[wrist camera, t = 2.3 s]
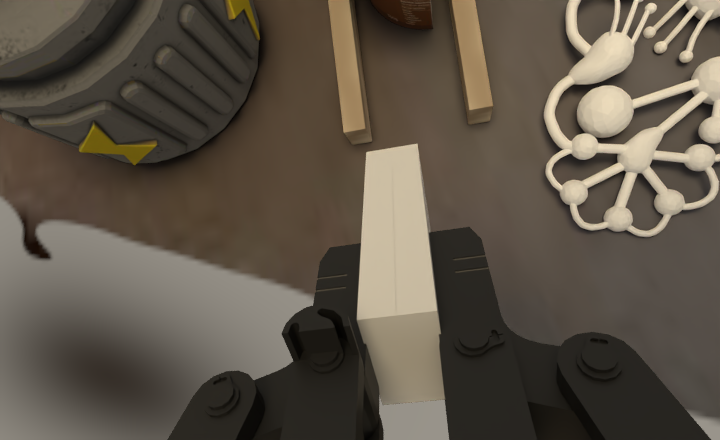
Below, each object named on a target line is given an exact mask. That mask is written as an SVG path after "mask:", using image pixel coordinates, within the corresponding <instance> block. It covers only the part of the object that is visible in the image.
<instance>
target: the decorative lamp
mask: <svg viewBox="0 0 720 440" xmlns="http://www.w3.org/2000/svg"><path fill="white" fill-rule="evenodd" d="M259 40H260V36H259V21H258V17H257V13H256V10H255V6H254V3H253V0H0V114H1V115H2V118H3V119H5V120H6V121H8V122H10V123H13V124H16V125H18V126H21V127H23V128H26V129H29V130H31V131H34V132H37V133H39V134H42V135H45V136H47V137H50V138H53V139H55V140H58V141H60V142H63V143H66V144H68V145H71V146H74V147H76V148H79V152H87V153H92V154H95V155H97V156H100V157H103V158H111V157H112V158H114V159H117V160H119V161H122V162H125V163H132V164H133V165H134V166H135V165H136V164H137V163H156V162H159V161H162V160H168V159H171V158H174V157H176V156H179V155H182V154H185V153H187V152H190V151H193V150H196V149H198V148H199V147H200V146H202V145H203V144H204V143H206V142H207V141H208V140H210V139H211V138H212V137H213V136H215V135H216V134H217V133H219V132H220V131H221V130H223V129H224V128H225V127H226V126H227V124H228V123H229V122H230V120H231V119H232V117H233V116H234V115H235V113H236V112H237V111H238V109H239V108H240V107H241V105H242V104H243V103H244V101H245V100H246V97H247V95H248V92H249V89H250V87H251V84H252V81H253V79H254V76H255V73H256V71H257V68H258V51H259Z"/></svg>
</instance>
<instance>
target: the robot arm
mask: <svg viewBox="0 0 720 440" xmlns="http://www.w3.org/2000/svg"><path fill="white" fill-rule="evenodd" d="M282 336H283V338H284V340H285V343H286V345H287V347H288V349H289V351H290V354H291V356H292V358H293V362H292V363H291V364H289V365H288V366H287V367H285V368H283V369H281V370H279V371H277V372H274V373H271V374H269V375H266V376H264V377H261V378H259V379H256V380H253V379H252V378H251V377H250V376H249V375H248V374H246V373H243V372H240V371H227V372H224V373H221V374H219V375H216V376H214V377H212V378H211V379H210V380H208V381H207V382H206V383H204V384H203V385H202V386H201V387H200V388H199V390H198V391H197V392H196V393H195V395H194V396H193V398H192V399H191V401H190V403H189V404H188V406H187V408H186V410H185V411H184V413H183V414H182V416H181V418H180V420H179V421H178V423H177V425H176V426H175V428H174V430H173V431H172V433H171V435H170V436H169V438H168V440H383V426H382V421H381V418H380V415H379V395H380V398H381V401H382V404H383V405H389V404H400V403H410V402H411V403H412V402H423V401H434V400H445V405H446V414H447V423H448V432H449V440H711V439H710V438H709V437H708V436H707V434H706V433H705V432H704V431H703V430H702V428H701V427H700V426H699V425H698V424H697V423H696V421H695V420H694V419H693V418H692V417H691V416H690V414H689V413H688V412H687V411H686V410H685V409H684V407H683V406H682V405H681V404H680V403H679V402H678V400H677V399H676V398H675V397H674V396H673V395H672V393H671V392H670V391H669V390H668V389H667V388H666V386H665V385H664V384H663V383H662V382H661V381H660V379H659V378H658V377H657V376H656V375H655V374H654V372H653V371H652V370H651V369H650V368H649V367H648V365H647V364H646V363H645V362H644V361H643V360H642V358H641V357H640V356H639V355H638V354H637V353H636V351H634V350H633V349H632V348H631V347H630V346H628V345H627V344H626V343H625V342H624V341H622V340H619V339H617V338H615V337H613V336H610V335H608V334H601V333H594V332H590V333H582V334H577V335H575V336H573V337H571V338H569V339H567V340H565V342H564V343H563V344H562V346H561V347H560V346H554V345H547V344H541V343H537V342H533V341H529V340H526V339H524V338H522V337H520V336H518V335H517V334H515V333H514V332H513V331H511V330H510V329H509V328H508V327H507V325H506V324H505V323H504V321H503V319H502V317H501V314H500V310H499V306H498V302H497V298H496V295H495V291H494V287H493V283H492V279H491V275H490V271H489V268H488V263H487V260H486V257H485V252H484V248H483V244H482V240H481V238H480V237H479V236H478V235H477V234H476V233H475V232H474V231H473V230H472V229H471V228H470V227H466V228H459V229H451V230H444V231H437V232H431V231H430V223H429V216H428V209H427V203H426V196H425V190H424V184H423V177H422V171H421V164H420V158H419V151H418V145H417V144H413V145H407V146H401V147H395V148H389V149H383V150H377V151H371V152H366V168H365V186H364V203H363V220H362V237H361V243H360V244H353V245H346V246H338V247H331V248H329V250H328V251H327V253H326V254H325V256H324V257H323V258H322V260H321V261H320V265H319V272H318V280H317V284H316V293H315V297H314V304H313V306H310V307H306V308H304V309H303V310H301V311H299V312H298V313H296V314H295V315H294V316H293V317H292V318H291V319H290V320H289V321H288V322H287V323H286V325H285V327H284V329H283V332H282Z"/></svg>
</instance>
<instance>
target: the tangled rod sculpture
mask: <svg viewBox="0 0 720 440" xmlns="http://www.w3.org/2000/svg"><path fill="white" fill-rule="evenodd" d="M642 1H643V0H634V1H633V4H632V7H631V10H630V13H629V15H628V18H627V21H626V23H625V26H624V28H623V31H622V33H620V32H615V31H616V28H617V24H618V21H619V14H620V0H615V12H614V18H613V23H612V26H611V30H610V32H606V33H604V34H603V35H602V36H601V37H600V38H599V39H598V40H597V41H596V42H595V43H594V44H593V46H591V45H589V44H588V43H587V42H586V41H585V40H584V39H583V38H582V37H581V36H580V35H579V33H578V28H577V23H576V22H577V8H578V6H579V4H580V2H581V0H569V2H568V4H567V8H566V15H565V20H566V33H567V36H568V38H569V41H570V42H571V44H572V45H573V46H574V47H575V48H576V49H577V50H578V51H579V52H580V53H581V54H582V55H584V58H583V59H582V60H580V61H579V62H578V63H577V64H576V65H575V66H574V67H573V68H572V69H571V71H570V72H569V75H568V76H566V77H564V78H563V79H562V80H561V81H559V82H558V83H557V84H556V85H555V87H554V88H553V89H552V91H551V92H550V94H549V97H548V100H547V102H546V105H545V109H544V120H545V123H546V127H547V130H548V132H549V134H550V136H551V137H552V139H553V141H554V142H555V143H556V144H557V145H558V146H559V147H560V148H561V149H563V150H561V151H560V152H558V153H557V154H555V155H554V156H552V158H551V159H550V160H549V161H548V163H547V164H546V170H545V172H546V177H547V178H548V180H549V181H550V183H551V185H552V186H553V187H555V188H556V189H557V190H559V191H560V197H561V199H562V201H563V202H564V203H565V204H568V205H570V211H571V214H572V217H573V220H574V221H575V222H576V223H577V224H578V225H579V226H580V227H581V228H584V229H587V230H591V231H592V230H600V229H605V228H608V229H610V230H612V231H615V232H621V231H625V230H628V231H629V232H631V233H632V234H634V235H637V236H641V237H651V236H654V235H656V234H658V233H659V232H661V231H662V230H663V229H664V228H665V226H666V225H667V223H668V221H669V219H670V218H671V216H672V215H676V214H678V213H679V212H680V211H682V210H692V209H696V208H700V207H702V206H705V205H706V204H708V203H709V202H711V201H712V200H713V199H715V197H716V195H717V193H718V191H719V180H718V178H717V176H716V174H715V171H714V169H713V168H712V167H711V166H712V165H713V163H714V162H719V161H720V154H717V155H715V152H714V150H713V149H712V148H711V147H709V146H707V145H704V144H696V145H693V146H691V147H689V148H688V149H687V150H686V152H685V153H674V152H665V151H655V150H656V148H657V146H658V144H659V143H660V141H661V140H662V137H663V135H664V133H665V132H667V131H668V130H669V129H670V128H671V127H673V126H674V125H675V124H676V123H677V122H679V121H680V120H681V119H682V118H684V117H685V116H686V115H687V114H688V113H690V112H691V111H692V110H693V109H694V108H696V107H697V106H698V105H699V104H701V103H702V102H704V103H707V104H711V105H713V110H712V116H711V117H709V118H707V119H705V120H704V121H703V122H702V123H701V124H700V126H699V130H698V132H699V136H700V138H701V139H702V140H704V141H705V142H707V143H719V142H720V56H719V57H714V58H711V59H709V60H707V61H706V62H704V63H702V64H701V65H699V66H698V67H697V69H696V70H695V72H694V74H693V75H692V77H691V80H690V81H687V82H684V83H681V84H678V85H675V86H672V87H669V88H666V89H663V90H660V91H657V92H654V93H651V94H648V95H645V96H642V97H639V98H636V99H633V100H631V98H630V96H629V95H628V94H627V93H626V92H625V91H623V90H622V89H621V88H618V87H616V86H600V87H597V88H594V89H592V90H590V91H589V92H588V93H587V94H586V95H584V96H583V98H582V99H581V101H580V103H579V105H578V108H577V121H578V123H579V125H580V127H581V128H582V129H583V130H584V132H586V133H584V134H579V135H577V136H576V137H575V138H574V139H573V140H572V141H569V140H568V139H567V138H566V136H565V135H564V134H563V133H562V132H561V130H560V128H559V125H558V123H557V121H556V118H555V109H556V106H557V104H558V101H559V98H560V96H561V95H562V94H563V92H564V91H565V90H566V89H567V88H569V87H570V86H571V85H573V84H578V85H581V84H595V83H599V82H602V81H604V80H606V79H608V78H610V77H612V76H614V75H616V74H618V73H620V72H622V71H623V70H625V69H626V68H627V67H628V65H629V64H630V63H631V61H632V59H633V55H634V45H635V43H636V41H637V39H638V37H639V35H640V33H641V31H642V29H643V26H644V24H645V22H646V20H647V18H648V16H649V14H652V13H654V12H655V11H656V8H657V6H656V5H655V4H654V3H649V4H648V5H647V6H646V7H645V12H644V14H643V17H642V19H641V21H640V23H639V25H638V27H637V29H636V31H635V33H634V35H633V37H632V39H630V38H629V37H628V36H627V32H628V30H629V27H630V25H631V22H632V19H633V16H634V14H635V11H636V8H637V5H638V3H639V2H642ZM684 4H685V5H686V7H687V9H688V10H689V12H688V13H687V14H686V16H685V17H684V18H683V19H682V20H681V22H680V23H679V24H678V25H677V26H676V27H675V29H674V30H673V31H672V32H671V33H670V34H669V36H668V37H667V38H666V39H665V40H664V41H661V42H657V43H656V44H655V46H654V51H655V52H656V53H663V52H665V51H666V50H667V45H668V44H669V43H670V42H671V41H672V39H673V38H674V37H675V36H676V35H677V34H678V33H679V32H680V31H681V29H682V28H683V27H684V26H685V25H686V23H687V22H688V21H689V20H690V19H691V17H692V16H693V15H694V16H695V17H697V18H698V19H699V20H700V21H699V23H698V24H697V26H696V28H695V30H694V32H693V33H692V35H691V37H690V39H689V42H688V45H687V48H686V50H685V51H683V52H681V53H680V55H679V60H680V61H681V62H683V63H687V62H689V61H691V60H692V58H693V53H692V50H693V47H694V44H695V41H696V39H697V37H698V35H699V33H700V32H701V30H702V28H703V26H704V25H705V24H706V22H707V21H708V20H712V19H714V18H717V17H719V16H720V0H679V1H678V2H677V3H676V5H675V6H674V7H673V8H672V9H671V10H670V11H669V12H668V13H667V14H666V15H665V16H663V17H662V18H661V19H660V20H659V21H658V22H657V23H656V24H655V25H654V26H653V27H651V26H650V27H647V28H646V29H645V30H644V31H643V36H644V37H645V38H647V39H650V38H652V37H654V36H655V34H656V31H657V30H658V29H659V28H660V27H661V26H662V25H663V24H664V23H665V22H666V21H667V20H668V19H670V18H671V17H672V16H673V15H674V14H675V13H676V12H677V11H678V10H679V9H680V8H681V7H682V6H683V5H684ZM689 90H692V92H693V94H694V97H693V98H692V99H691V100H689V101H688V102H687V103H686V104H685V105H683V106H682V107H681V108H680V109H678V110H677V111H676V112H675V113H674V114H672V115H671V116H670V117H669V118H667V119H666V120H665V121H664V122H663V123H661V124H660V125H659V126H658V127H653V128H649V129H645V130H643V131H641V132H639V133H638V134H636V135H635V136H634V137H633V138H631V139H630V140H629V141H628V142H626V143H625V144H624V145H621V144H599V143H598V141H597V139H596V138H595V137H597V138H606V137H611V136H614V135H616V134H618V133H620V132H621V131H622V130H624V129H625V128H626V127H627V126H628V125H629V123H630V121H631V120H632V117H633V113H634V110H633V109H635V108H638V107H641V106H644V105H647V104H650V103H653V102H656V101H659V100H662V99H665V98H668V97H671V96H674V95H677V94H680V93H683V92H686V91H689ZM587 133H588V134H587ZM596 153H614V154H618V155H617V161H618V163H616V164H614V165H612V166H610V167H609V168H607V169H605V170H603V171H601V172H599V173H597V174H595V175H593V176H591V177H589V178H587V179H585V180H583V181H579V180H570V181H567V182H566V183H564V184H563V185H561V184H559V183H558V182H557V181H556V179H555V178H554V176H553V174H552V168H553V165H554V163H556V162H557V161H558V160H559V159H560V158H562V157H564V156H566V155H568V154H572V155H573V156H574V157H576V158H577V159H580V160H587V159H590V158H592V157H593V156H594V155H596ZM652 159H653V160H663V161H672V162H681V163H684V164H685V166H686V167H687V168H689V169H691V170H693V171H705V172H706V173H707V175H708V176H709V180H710V185H711V189H710V191H709V193H708V195H707V196H706V197H704V198H703V199H702V200H700V201H697V202H693V203H688V204H685V201H684V197H683V195H682V194H681V193H679V192H678V191H676V190H671V189H667V188H666V187H665V185H664V184H663V183H662V181H661V180H660V179H659V178H658V176H657V175H656V174H655V173H654V171H653V170H652V169H651V167H650V164H651V162H652ZM623 170H624V171H626V174H625V177H624V180H623V183H622V185H621V188H620V191H619V194H618V196H617V199H616V202H615V205H614V206H613V207H611V208H609V209H608V210H607V211H606V212H605V214H604V217H603V218H604V222H602V223H599V224H589V223H586V222H584V221H583V220H582V219H581V217H580V216H579V213H578V209H577V205H580V204H582V203H583V202H584V201H585V200H586V198H587V196H588V190H587V188H589V187H591V186H593V185H595V184H597V183H599V182H601V181H603V180H605V179H607V178H609V177H611V176H613V175H615V174H617V173H619V172H621V171H623ZM638 173H642V174H643V175H644V177H645V178H646V179H647V180H648V182H649V183H650V184H651V186H652V187H653V188H654V189H655V191H656V192H657V193H658V194H657V195H656V197H655V199H654V206H655V209H656V210H657V211H658V212H659V213H661V214H663V218H662V219H661V221H660V222H659V223H658V225H657V226H656V227H655V228H653V229H651V230H648V231H645V230H639V229H636V228H635V227H633V226H632V225H631V224H632V222H633V217H632V214H631V212H630V210H629V209H627V208H625V207H626V204H627V201H628V199H629V196H630V193H631V190H632V188H633V185H634V182H635V179H636V177H637V174H638Z"/></svg>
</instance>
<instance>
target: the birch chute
mask: <svg viewBox="0 0 720 440" xmlns="http://www.w3.org/2000/svg"><path fill="white" fill-rule="evenodd" d="M448 2H449V8H450V14H451V21H452V27H453V33H454V39H455V45H456V52H457V58H458V64H459V70H460V76H461V83H462V89H463V95H464V101H465V107H466V113H467V120H468V125H471V124H476V123H482V122H488V121H490V118H491V113H492V108H493V103H492V97H491V91H490V86H489V80H488V74H487V68H486V62H485V56H484V50H483V45H482V39H481V33H480V27H479V21H478V15H477V10H476V4H475V0H448ZM328 3H329V12H330V20H331V29H332V37H333V45H334V54H335V62H336V71H337V79H338V88H339V96H340V105H341V113H342V122H343V130H344V134H345V135H346V136H347V138H348V139H349V141H350V142H351V144H352V145H356V144H362V143H367V142H372V135H371V127H370V120H369V112H368V104H367V96H366V88H365V80H364V73H363V65H362V57H361V49H360V41H359V33H358V26H357V18H356V10H355V2H354V0H328Z"/></svg>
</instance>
